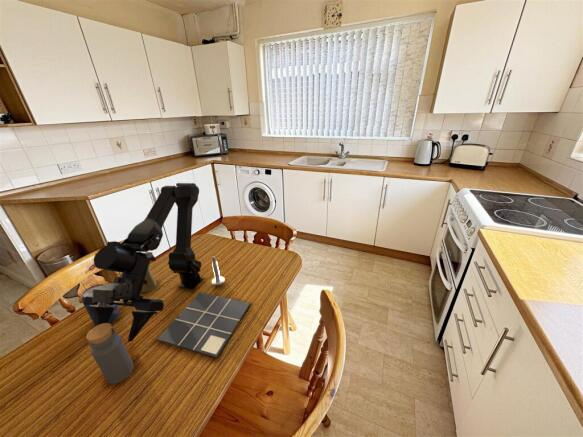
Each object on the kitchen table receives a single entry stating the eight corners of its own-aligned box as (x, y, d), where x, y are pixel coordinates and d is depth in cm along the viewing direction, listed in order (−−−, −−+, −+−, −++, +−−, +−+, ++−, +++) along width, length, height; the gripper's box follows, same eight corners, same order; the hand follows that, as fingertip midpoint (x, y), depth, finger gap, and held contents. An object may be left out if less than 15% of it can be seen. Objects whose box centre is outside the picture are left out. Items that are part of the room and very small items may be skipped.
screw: (212, 282, 92) (225, 279, 93) (212, 290, 88) (226, 287, 89) (206, 254, 86) (219, 251, 88) (206, 261, 82) (220, 258, 83)
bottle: (113, 388, 57) (89, 346, 51) (102, 376, 60) (78, 334, 54) (138, 368, 62) (119, 327, 55) (127, 357, 65) (107, 317, 58)
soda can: (121, 320, 76) (108, 291, 71) (94, 332, 72) (78, 302, 67) (119, 307, 81) (107, 279, 76) (94, 317, 78) (79, 289, 72)
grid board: (157, 340, 69) (156, 339, 69) (200, 293, 86) (199, 292, 86) (217, 358, 63) (216, 356, 63) (250, 304, 81) (249, 302, 80)
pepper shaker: (135, 289, 89) (125, 265, 85) (149, 280, 94) (141, 256, 90) (146, 293, 87) (137, 269, 82) (160, 283, 92) (152, 259, 88)
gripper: (74, 267, 58) (46, 338, 52) (143, 273, 55) (120, 349, 50) (112, 273, 68) (92, 333, 63) (171, 278, 65) (155, 342, 60)
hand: (113, 339), depth 59 cm, fingers open, 9 cm apart
